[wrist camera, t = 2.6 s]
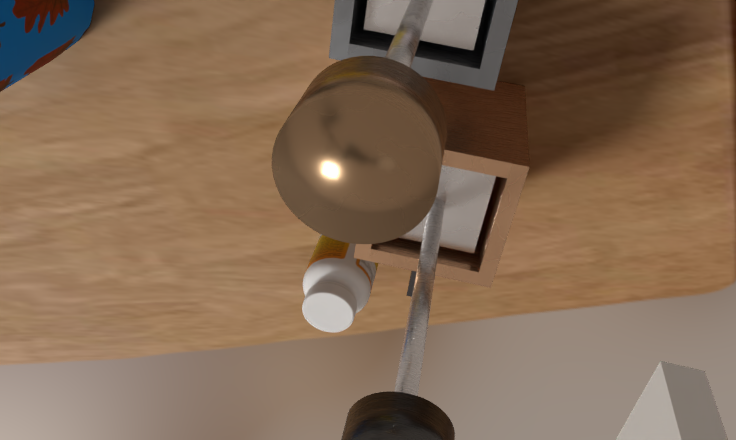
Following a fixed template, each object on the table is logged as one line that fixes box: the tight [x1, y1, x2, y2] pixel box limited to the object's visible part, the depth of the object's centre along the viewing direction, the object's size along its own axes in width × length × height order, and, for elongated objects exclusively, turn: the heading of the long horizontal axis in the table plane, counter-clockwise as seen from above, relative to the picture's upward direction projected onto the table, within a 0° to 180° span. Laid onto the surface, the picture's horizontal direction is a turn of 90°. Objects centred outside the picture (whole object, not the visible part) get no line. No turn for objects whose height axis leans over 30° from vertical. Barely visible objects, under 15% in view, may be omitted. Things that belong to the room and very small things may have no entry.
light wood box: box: [354, 77, 530, 297], centre depth 45 cm, size 12×9×12 cm
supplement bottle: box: [302, 234, 378, 332], centre depth 53 cm, size 5×5×10 cm
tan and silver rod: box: [272, 0, 485, 244], centre depth 25 cm, size 6×6×21 cm
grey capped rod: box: [341, 165, 496, 440], centre depth 33 cm, size 6×6×21 cm
